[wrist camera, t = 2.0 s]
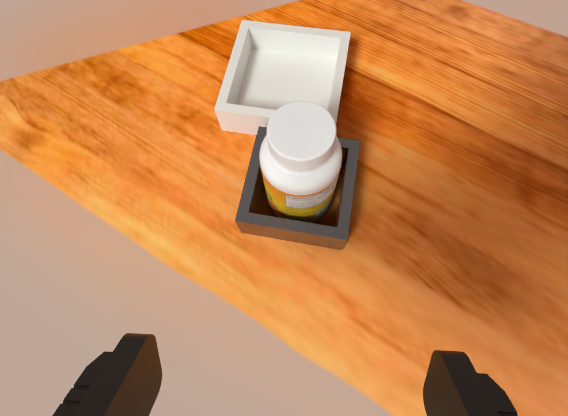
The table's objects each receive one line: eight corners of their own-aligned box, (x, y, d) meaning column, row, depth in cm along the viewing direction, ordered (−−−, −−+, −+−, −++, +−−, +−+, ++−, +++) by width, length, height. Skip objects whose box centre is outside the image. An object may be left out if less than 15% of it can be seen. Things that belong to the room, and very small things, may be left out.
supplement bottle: (265, 168, 29) (251, 93, 20) (328, 163, 29) (342, 86, 20) (269, 228, 27) (255, 175, 18) (336, 223, 27) (355, 167, 18)
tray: (346, 57, 33) (350, 32, 30) (331, 146, 30) (335, 126, 27) (246, 45, 34) (241, 19, 31) (221, 130, 31) (214, 109, 28)
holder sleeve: (354, 159, 29) (360, 140, 26) (342, 250, 26) (347, 240, 24) (262, 145, 30) (258, 126, 27) (241, 232, 27) (235, 220, 24)
